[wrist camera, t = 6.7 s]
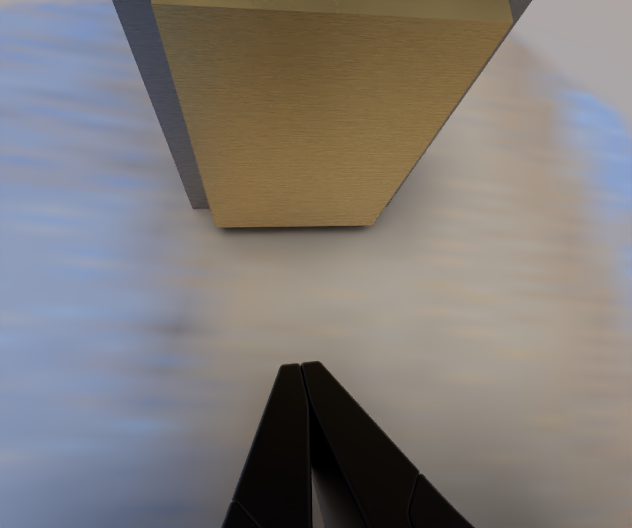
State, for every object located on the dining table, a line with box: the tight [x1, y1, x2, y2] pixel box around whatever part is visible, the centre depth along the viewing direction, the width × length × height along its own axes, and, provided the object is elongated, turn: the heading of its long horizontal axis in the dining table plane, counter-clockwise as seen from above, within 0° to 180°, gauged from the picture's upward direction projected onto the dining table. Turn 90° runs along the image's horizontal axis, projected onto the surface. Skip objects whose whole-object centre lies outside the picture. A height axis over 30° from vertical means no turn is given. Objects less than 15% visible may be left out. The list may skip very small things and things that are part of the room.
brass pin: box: [151, 0, 513, 227], centre depth 13 cm, size 10×6×10 cm, turn 3°
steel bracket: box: [112, 0, 532, 208], centre depth 12 cm, size 3×8×13 cm, turn 93°
